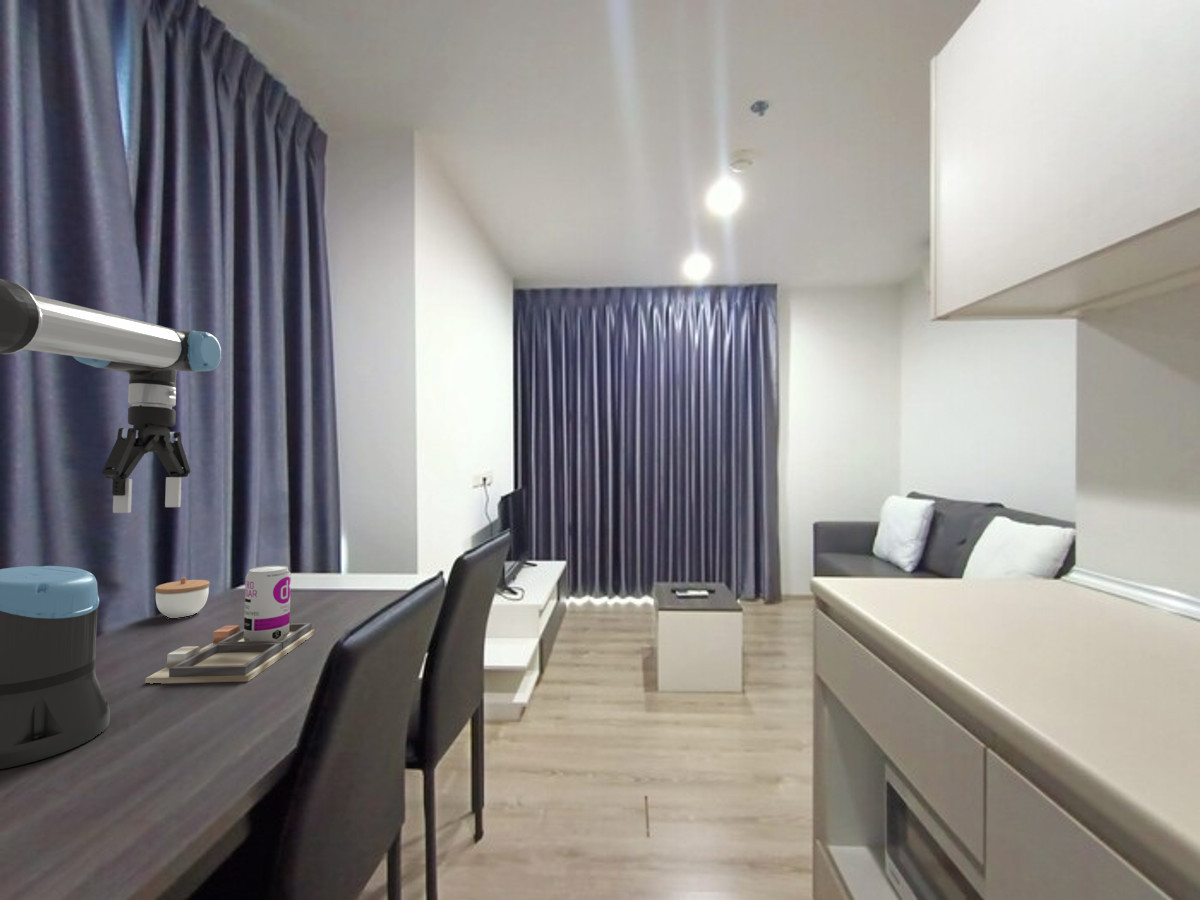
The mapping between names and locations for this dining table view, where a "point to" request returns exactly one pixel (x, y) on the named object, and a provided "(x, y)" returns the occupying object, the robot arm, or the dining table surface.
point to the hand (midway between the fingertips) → (149, 509)
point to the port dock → (228, 657)
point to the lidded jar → (182, 597)
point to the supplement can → (267, 603)
